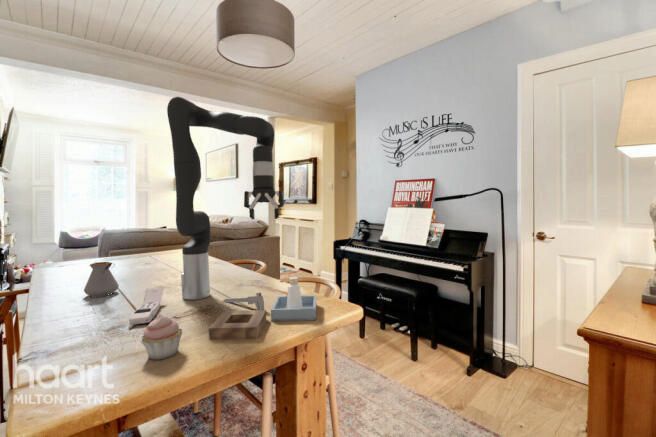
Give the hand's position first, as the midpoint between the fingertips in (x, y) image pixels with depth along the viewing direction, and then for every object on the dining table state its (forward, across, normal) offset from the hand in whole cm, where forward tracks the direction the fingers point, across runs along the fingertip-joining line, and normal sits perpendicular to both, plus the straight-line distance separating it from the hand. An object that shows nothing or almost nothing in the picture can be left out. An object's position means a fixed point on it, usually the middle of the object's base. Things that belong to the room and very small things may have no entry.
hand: (264, 219), depth 116 cm
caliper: (+31, -7, -7) cm, 32 cm away
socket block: (+30, -3, -27) cm, 41 cm away
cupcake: (+30, -18, -41) cm, 54 cm away
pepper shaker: (+30, +12, -15) cm, 35 cm away
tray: (+30, +12, -15) cm, 36 cm away
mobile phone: (+31, -37, -13) cm, 50 cm away
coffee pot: (+30, -65, +7) cm, 72 cm away
